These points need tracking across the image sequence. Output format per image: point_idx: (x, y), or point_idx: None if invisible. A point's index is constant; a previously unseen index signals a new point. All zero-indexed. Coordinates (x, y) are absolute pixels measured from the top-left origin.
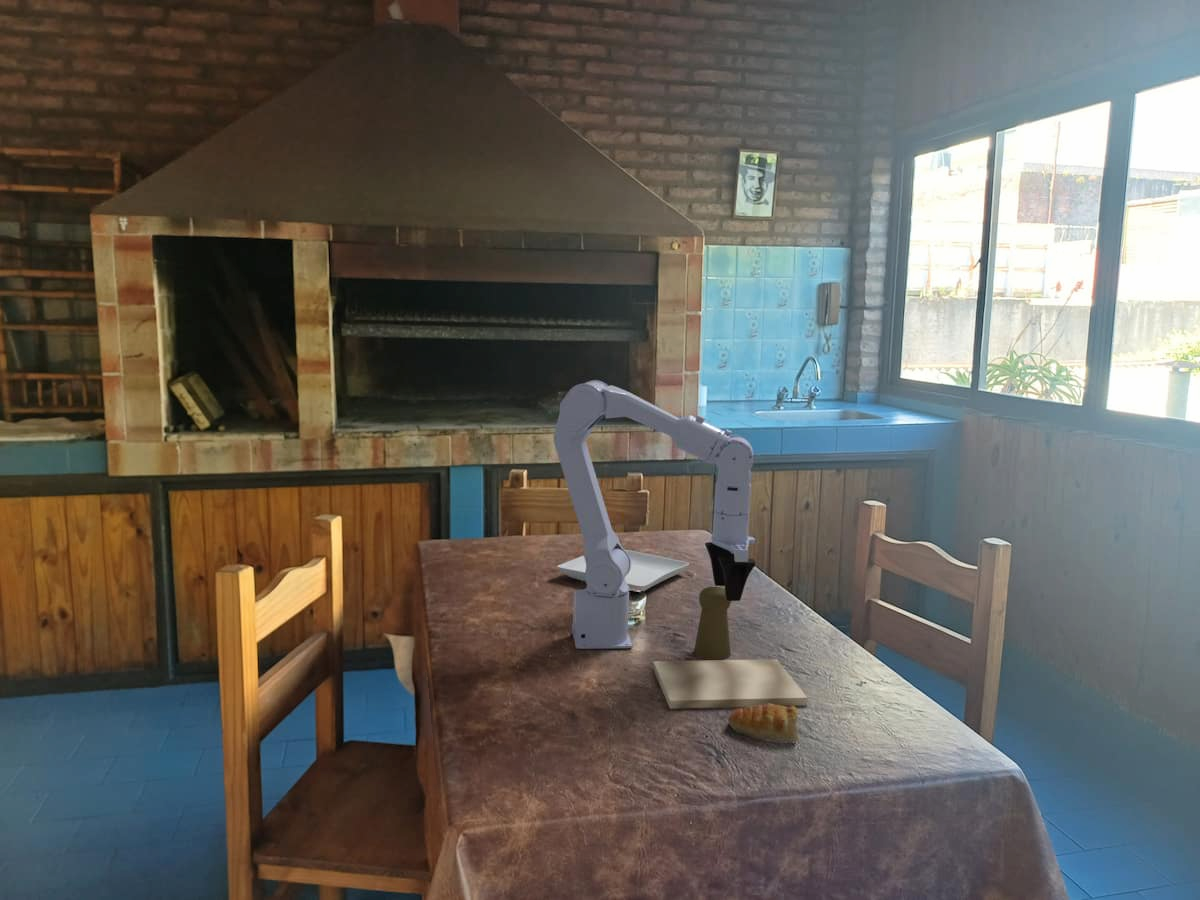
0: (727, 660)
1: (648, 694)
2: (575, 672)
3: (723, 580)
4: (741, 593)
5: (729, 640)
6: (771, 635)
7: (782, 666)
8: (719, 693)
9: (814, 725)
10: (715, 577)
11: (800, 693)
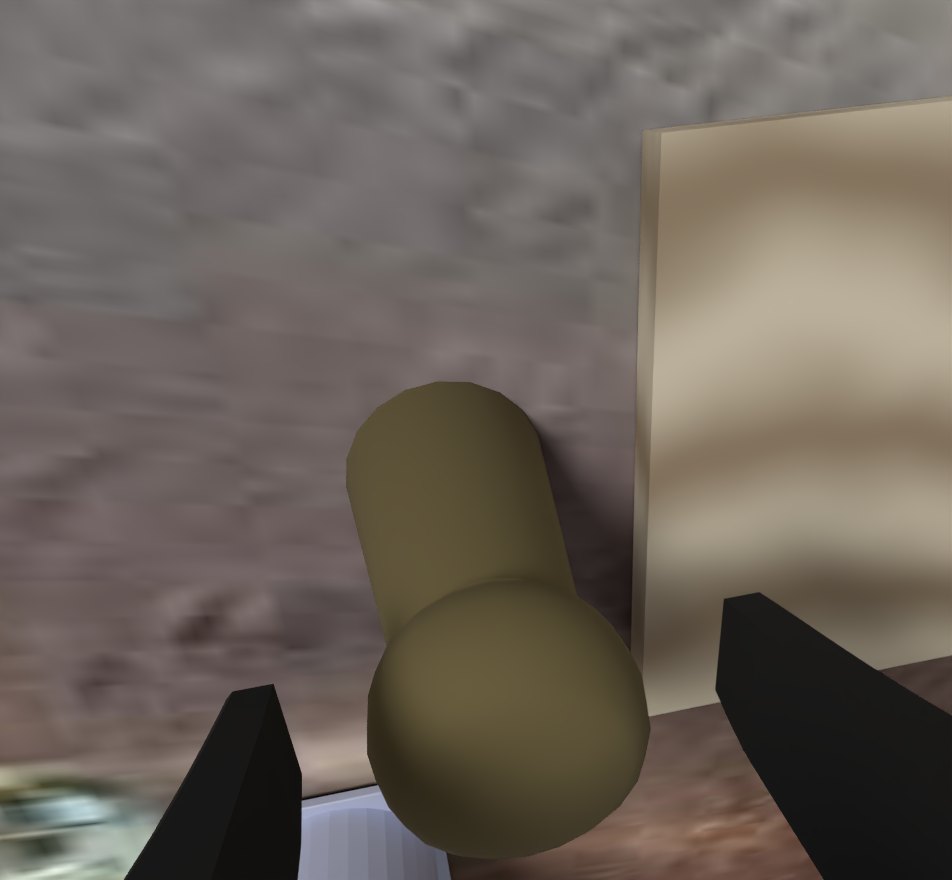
0: (657, 435)
1: None
2: (642, 873)
3: (277, 772)
4: (819, 637)
5: (485, 431)
6: (30, 19)
7: (774, 121)
8: None
9: None
10: (293, 868)
11: None
